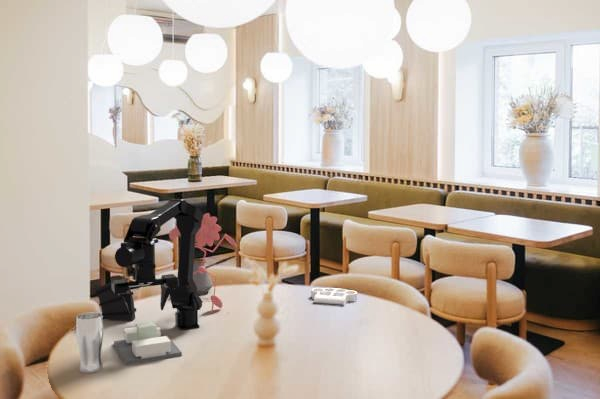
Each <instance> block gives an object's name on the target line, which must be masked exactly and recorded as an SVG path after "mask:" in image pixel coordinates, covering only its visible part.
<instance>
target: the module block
mask: <svg viewBox="0 0 600 399" xmlns="http://www.w3.org/2000/svg"><path fill="white" fill-rule="evenodd" d="M155 324H156V323H155V322H154V321H151V322H144V323H143V322H142V323H136V324H135V325H136V326H135V327H136V329H137V340H142V339H149V338H156V337H157V326H156V325H155Z"/></svg>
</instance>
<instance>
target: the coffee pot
mask: <svg viewBox="0 0 600 399" xmlns="http://www.w3.org/2000/svg"><path fill="white" fill-rule="evenodd" d="M232 259H235V261H237V260H238V258H237V256H236V255H232V256H229V257H225V258H222V259H220V260H218V261H216V262H214V263H212V264H208V265H206V266H205V263H206V262H207V260H206V258H205V259H204V263H203V266H204V267H205V270H206V271H207V269H209V268H211V267H214V266H216V265H219V264H223V263H226V262H227V261H229V260H232ZM202 262H203V258H194V266H193V273H194V272H196V271H198V268H199V267H200V266H202ZM206 271H205V272H204V273H199V272H196V273H195V274H193V280H194V282H195V284H196V286H197V294H198V295H203V294H208V292H209V291H211V289H212V287H213V282H212V279H211V277H210V274H208V273H207V272H208V271H207V272H206Z"/></svg>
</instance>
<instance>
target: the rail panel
mask: <svg viewBox="0 0 600 399" xmlns="http://www.w3.org/2000/svg"><path fill="white" fill-rule="evenodd" d="M155 325H156V326H157V337H156V338H149V339H142V340H137V329H136V326H135V327H126V328H123V339H118V340H114V341H113V346H114V347H115V349H116V351H117V352H118V354H119V356H120V358H121V359H122V361H123V363H124V365H125V366H126V365H132V364H138V363H144V362H149V361H150V362H151V361H155V360H162V359H169V358H174V357H175V358H176V357H182V354H183V353H182V351H181V350H180V348H179V347H178V346H177V345H176V344H175V343H174V342H173V340H172V338H170V337H169V335H168V334H167V333H161V327H159V325H158V324H156V323H155Z"/></svg>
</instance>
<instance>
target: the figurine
mask: <svg viewBox="0 0 600 399" xmlns="http://www.w3.org/2000/svg"><path fill="white" fill-rule="evenodd" d="M217 222H218V218H217V216H211V214H210V213H209V212H207V213H204V214H203V220H202V224H201V228H200V229H199V231H198V232H197V234H196V237H195V243H196V244H197V245H195V248H197V249H200V251H202V252H204V254H203V258H202V259H203V262H202V266H200V267H199V268H198V271H196V272H199V273H204V272H205V271H206V270H207V269H206V270H205V267H206V266H205V265H204V266H205V267H204V266H203V263H204V259H205V260H206V255H207V252H210V253H214V252H215V251H216V249H218V247H219V245H221V243H223V241H224V239H225V240H226V241H227V242H228V243H229V244H230V245H231V246H234V248H236V249H237V248H238V244H237V242H236V241H235V239H234V238H232V237H231V236H230V235H228V234H227V233H225V234H224V235H223V237H221V236H220V233H219V232H221V231H222V227H221V226H220V225H219V224H217ZM168 237H169V239H170V240H171V241H172V240H174V239H176V238H178V237H180V232H179V230H178V228H177V226H175V227H173V228H171V230H170V231H169V233H168ZM220 238H221V239H220ZM215 241H219V242H218V243H217V244H216V246H215V247H214V249H212V250H211V249H208V248H205V247H204V246H205V245H206V246H208V247H212V246H214V242H215ZM196 272H194V273H193V274H195V273H196ZM206 272H207V273H208V275H209V276H211V277H213V278H214V288H213V294H212V295H211V296H210V300H205V301H204V300H202V303H205V302H206V303H208V302H209V303H212V304H211V312H210V314H213V312H214V306H216V307H217V308H220V309H222V307H223V301H222V299H220V298H219V297H218V296H217V295H216V286H217V285H216V283H217V278H216V277H215V275H213V274H212V273H210V272H208V271H206ZM227 314H228V315H229V312H228V313H226V315H227Z"/></svg>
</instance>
